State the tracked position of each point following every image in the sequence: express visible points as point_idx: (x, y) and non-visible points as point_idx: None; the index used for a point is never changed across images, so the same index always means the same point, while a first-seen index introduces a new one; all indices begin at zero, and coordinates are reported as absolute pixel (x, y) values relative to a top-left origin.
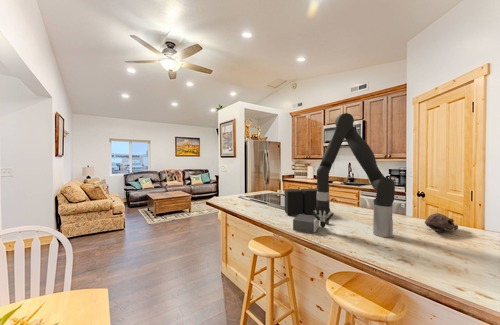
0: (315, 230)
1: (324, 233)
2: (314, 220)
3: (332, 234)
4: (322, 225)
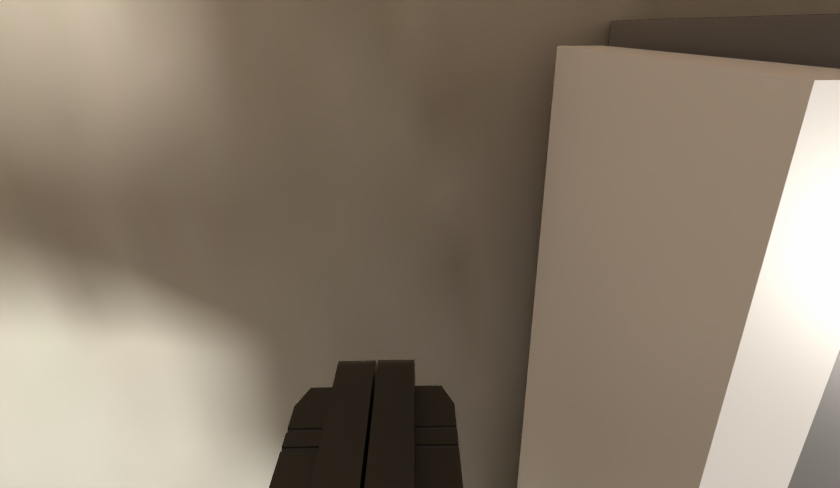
0: (557, 123)
1: (296, 161)
2: (835, 330)
3: (89, 184)
4: (374, 406)
